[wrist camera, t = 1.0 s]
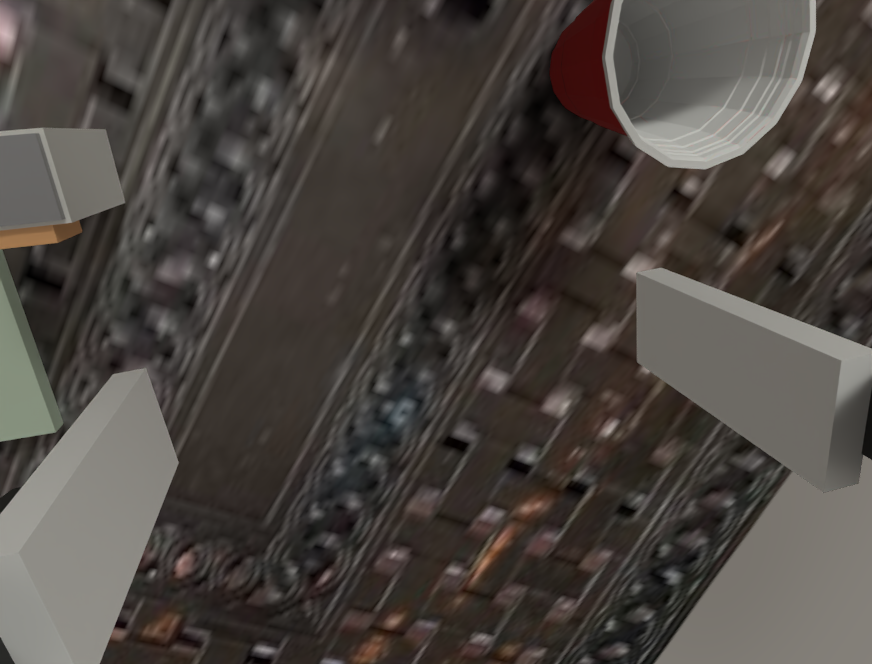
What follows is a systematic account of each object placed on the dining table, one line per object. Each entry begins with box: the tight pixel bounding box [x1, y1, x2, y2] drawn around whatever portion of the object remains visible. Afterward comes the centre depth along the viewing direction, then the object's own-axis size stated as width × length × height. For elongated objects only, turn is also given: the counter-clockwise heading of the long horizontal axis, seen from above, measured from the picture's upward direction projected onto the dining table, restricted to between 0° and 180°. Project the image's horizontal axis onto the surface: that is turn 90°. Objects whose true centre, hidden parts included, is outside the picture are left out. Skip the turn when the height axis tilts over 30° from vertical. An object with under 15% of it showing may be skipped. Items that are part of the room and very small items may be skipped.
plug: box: [0, 128, 125, 249], centre depth 28 cm, size 5×4×8 cm
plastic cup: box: [549, 0, 816, 169], centre depth 30 cm, size 11×11×12 cm
